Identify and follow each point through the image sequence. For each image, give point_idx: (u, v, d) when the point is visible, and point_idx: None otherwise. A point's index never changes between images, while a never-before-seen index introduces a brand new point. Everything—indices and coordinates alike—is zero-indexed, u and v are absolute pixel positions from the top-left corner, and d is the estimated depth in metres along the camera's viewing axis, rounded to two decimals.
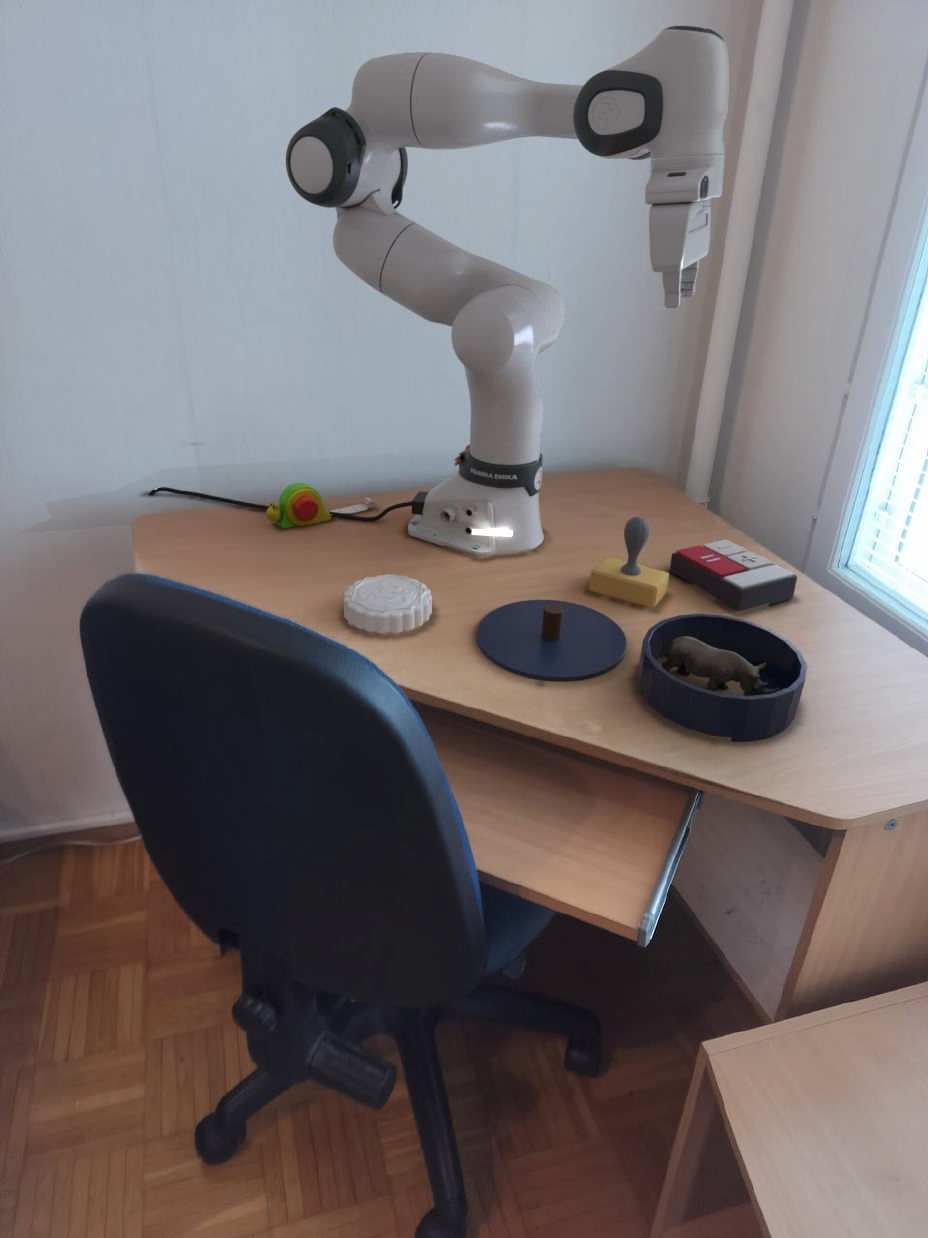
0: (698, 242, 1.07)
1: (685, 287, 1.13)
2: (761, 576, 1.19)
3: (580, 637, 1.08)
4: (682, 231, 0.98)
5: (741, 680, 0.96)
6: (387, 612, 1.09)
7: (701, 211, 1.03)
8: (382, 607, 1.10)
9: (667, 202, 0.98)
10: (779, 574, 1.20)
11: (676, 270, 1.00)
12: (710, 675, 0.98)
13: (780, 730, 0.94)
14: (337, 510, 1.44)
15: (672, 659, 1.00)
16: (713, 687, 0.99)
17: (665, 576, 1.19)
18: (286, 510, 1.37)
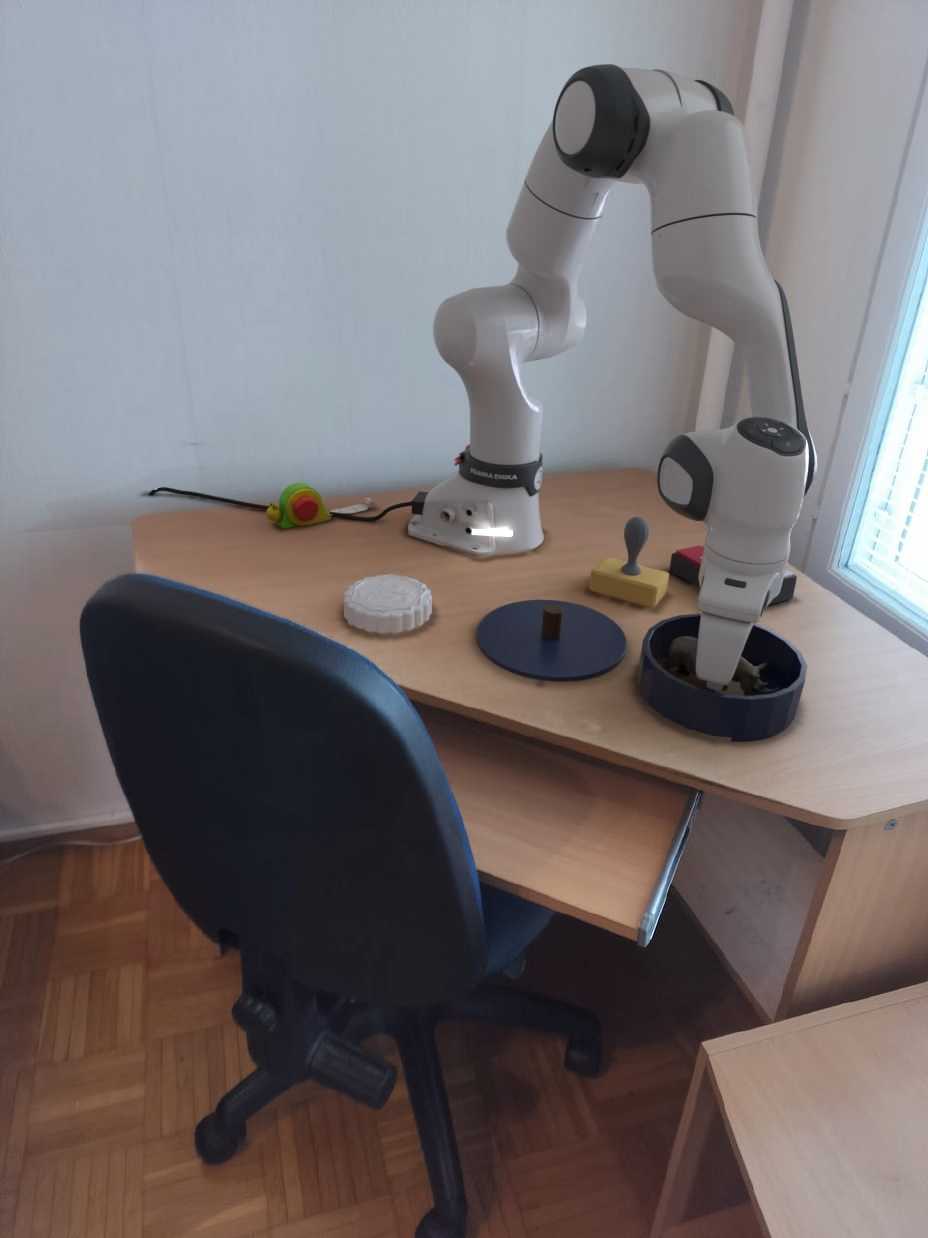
0: None
1: None
2: None
3: (580, 637, 1.08)
4: (735, 653, 0.86)
5: (741, 680, 0.96)
6: (387, 612, 1.09)
7: None
8: (382, 607, 1.10)
9: (722, 616, 0.86)
10: None
11: (723, 684, 0.89)
12: None
13: (780, 730, 0.94)
14: (337, 510, 1.44)
15: (672, 659, 1.00)
16: None
17: (665, 576, 1.19)
18: (286, 510, 1.37)
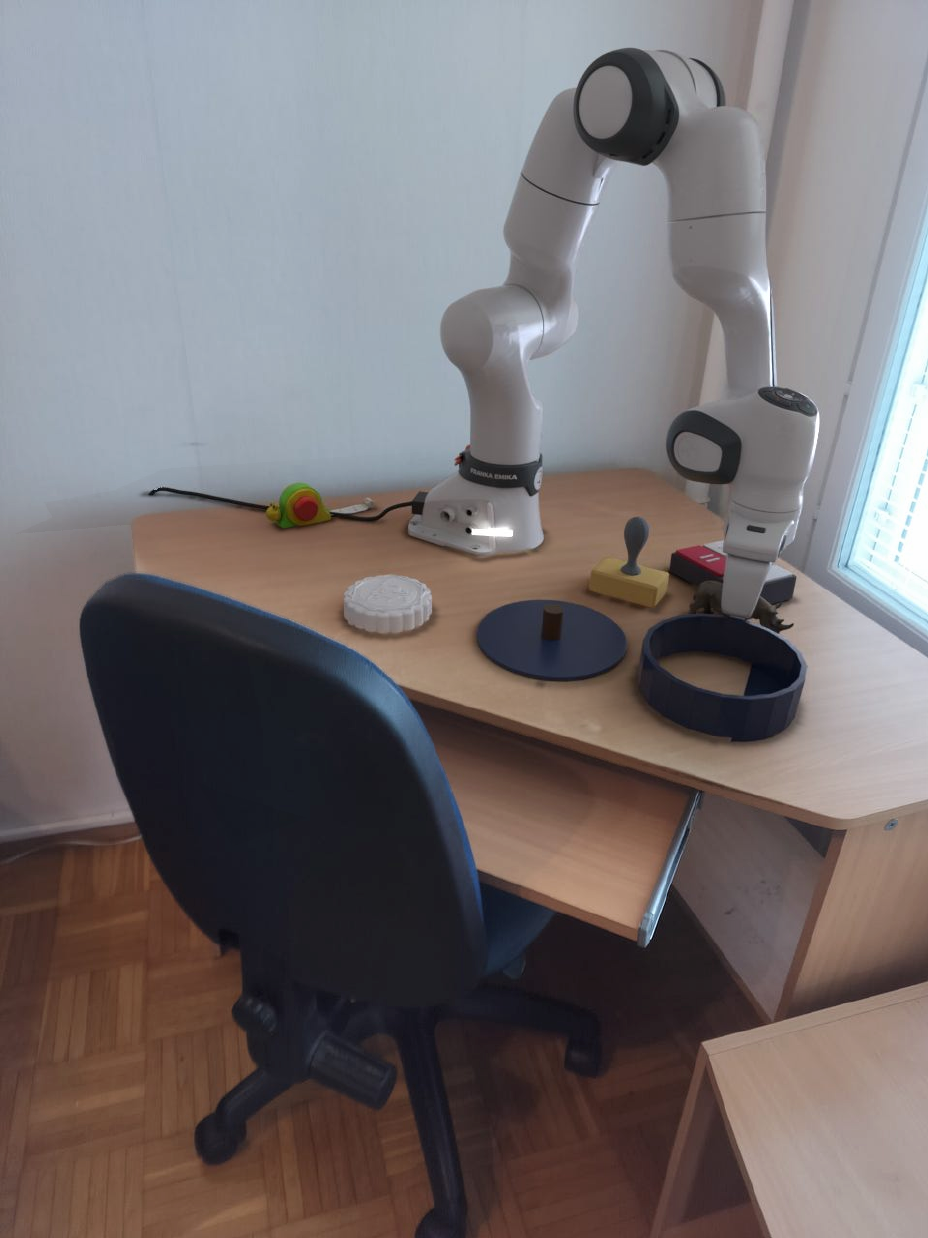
0: None
1: None
2: None
3: (580, 637, 1.08)
4: (756, 589, 1.00)
5: (760, 617, 1.10)
6: (387, 612, 1.09)
7: None
8: (382, 607, 1.10)
9: (744, 557, 1.00)
10: (778, 574, 1.19)
11: None
12: None
13: (780, 730, 0.94)
14: (337, 510, 1.44)
15: (699, 600, 1.13)
16: None
17: (665, 576, 1.19)
18: (286, 510, 1.37)
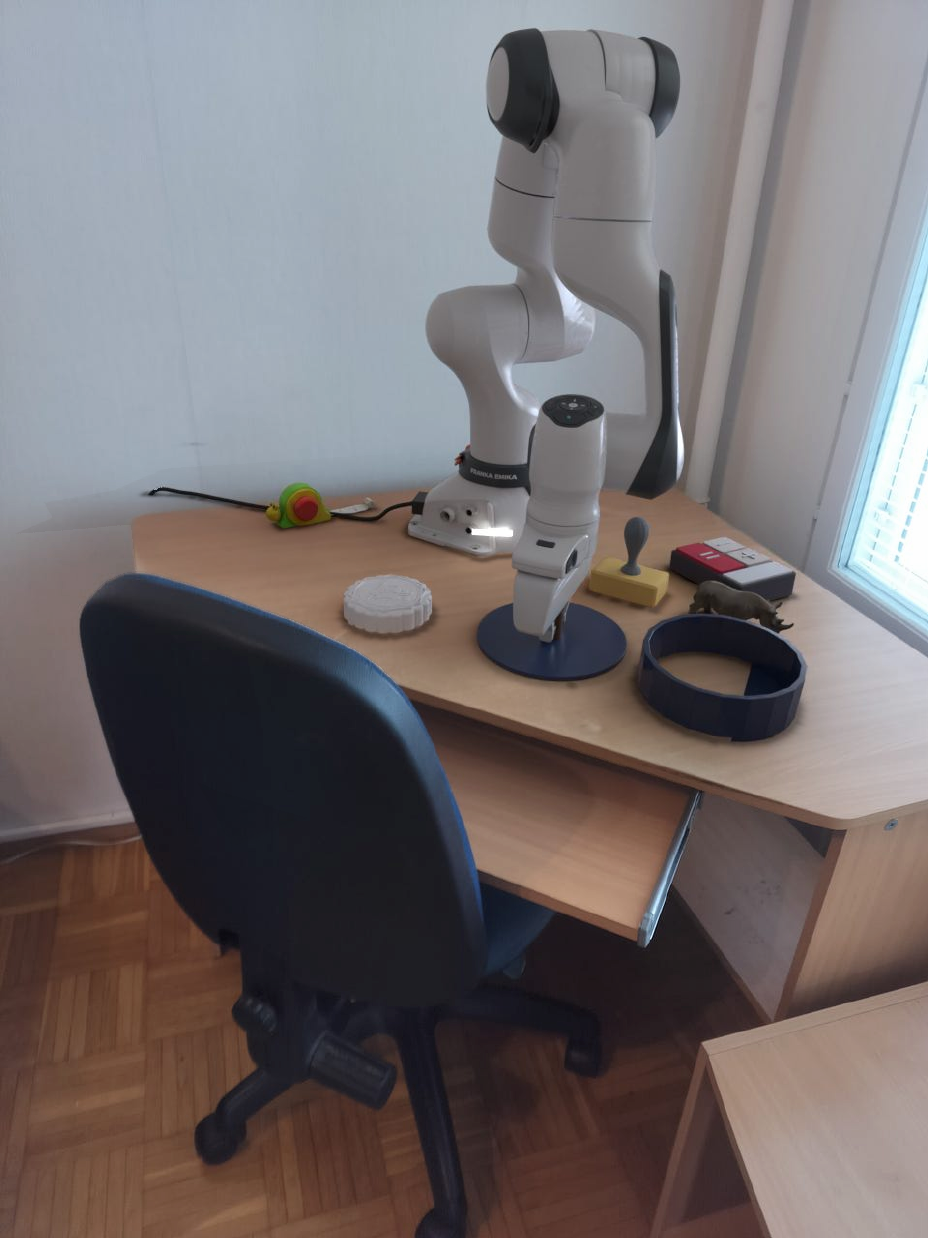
0: (572, 584, 1.05)
1: None
2: (760, 573, 1.20)
3: (580, 637, 1.08)
4: (544, 606, 0.96)
5: (760, 617, 1.10)
6: (387, 612, 1.09)
7: (572, 568, 1.01)
8: (382, 607, 1.10)
9: (532, 573, 0.96)
10: (778, 571, 1.20)
11: None
12: (733, 613, 1.11)
13: (780, 730, 0.94)
14: (337, 510, 1.44)
15: (699, 600, 1.13)
16: None
17: (665, 576, 1.19)
18: (286, 510, 1.37)
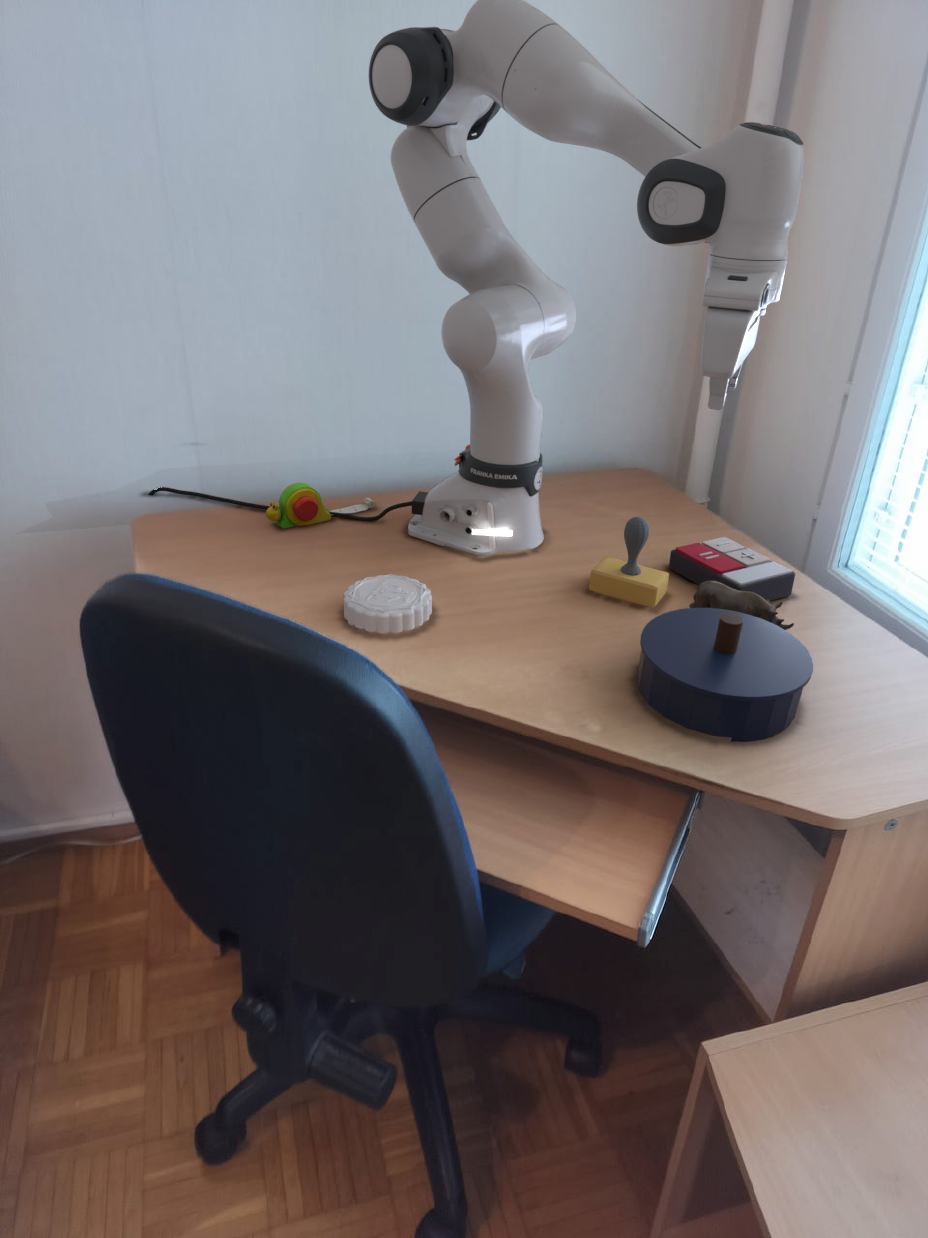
0: (748, 342, 1.02)
1: (727, 382, 1.09)
2: (759, 573, 1.20)
3: (758, 650, 0.97)
4: (738, 341, 0.93)
5: (760, 617, 1.10)
6: (387, 612, 1.09)
7: (756, 315, 0.98)
8: (382, 607, 1.10)
9: (725, 307, 0.93)
10: (777, 571, 1.20)
11: (726, 378, 0.96)
12: None
13: (780, 730, 0.94)
14: (337, 510, 1.44)
15: (699, 600, 1.13)
16: None
17: (665, 576, 1.19)
18: (286, 510, 1.37)
